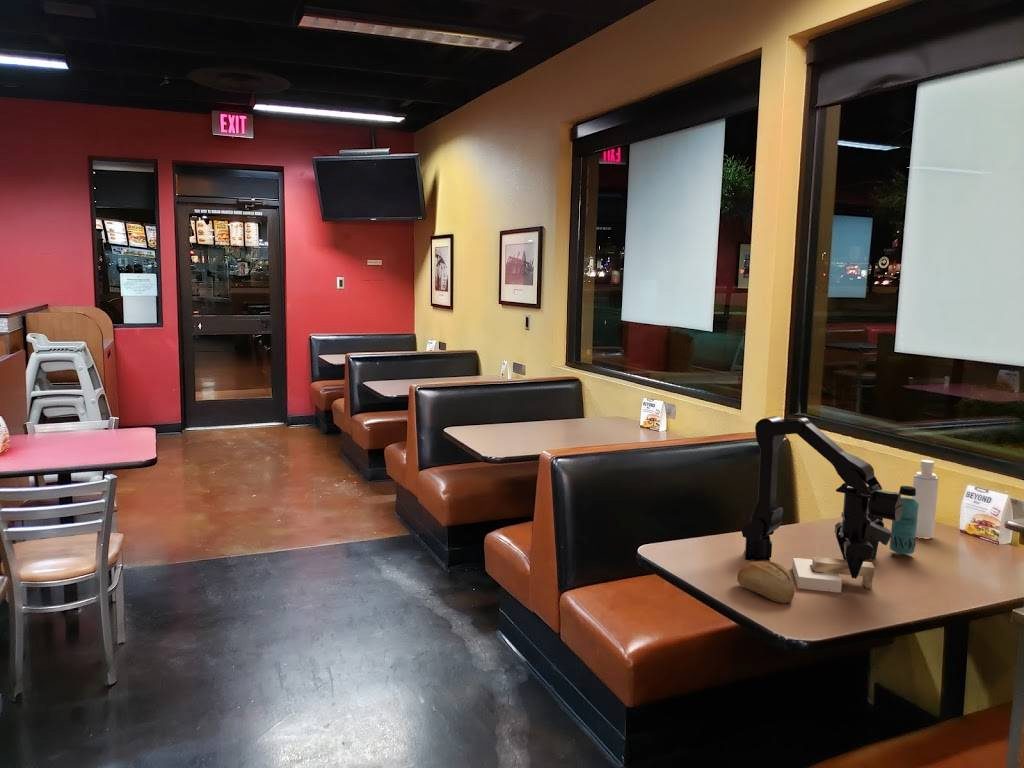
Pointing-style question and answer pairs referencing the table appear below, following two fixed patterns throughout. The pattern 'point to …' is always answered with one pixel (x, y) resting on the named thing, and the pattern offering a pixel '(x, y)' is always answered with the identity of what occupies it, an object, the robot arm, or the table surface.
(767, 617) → the table surface
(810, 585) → the white slotted block
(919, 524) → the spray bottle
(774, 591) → the bread roll
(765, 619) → the table surface
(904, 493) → the beverage bottle
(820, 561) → the tan elongated block
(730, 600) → the table surface
